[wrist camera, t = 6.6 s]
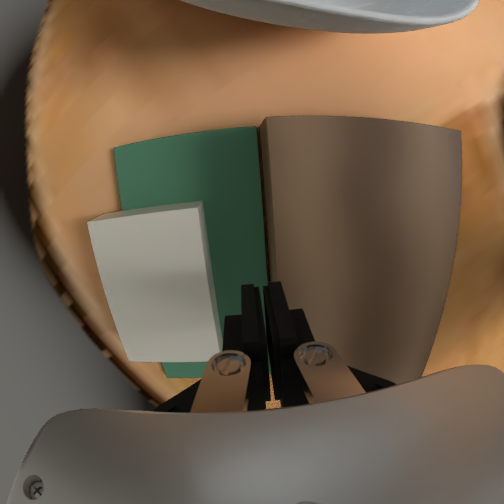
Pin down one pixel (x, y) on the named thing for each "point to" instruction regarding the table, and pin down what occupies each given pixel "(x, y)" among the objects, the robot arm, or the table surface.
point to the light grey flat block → (159, 281)
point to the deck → (364, 232)
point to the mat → (205, 206)
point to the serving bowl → (346, 13)
